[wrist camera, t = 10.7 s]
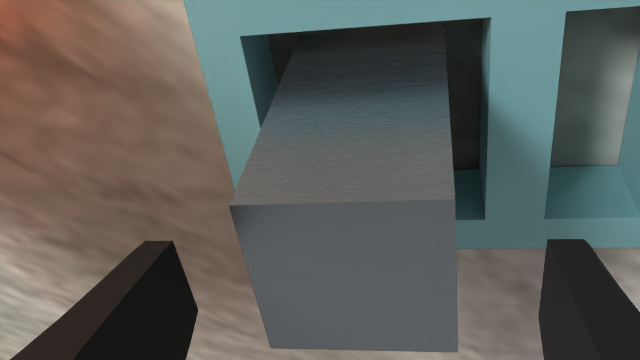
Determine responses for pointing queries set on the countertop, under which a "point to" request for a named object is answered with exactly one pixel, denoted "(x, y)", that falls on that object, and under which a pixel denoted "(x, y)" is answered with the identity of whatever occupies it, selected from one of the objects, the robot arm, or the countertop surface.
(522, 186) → the holder
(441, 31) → the peg
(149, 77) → the countertop surface
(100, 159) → the countertop surface
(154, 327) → the robot arm
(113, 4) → the countertop surface
